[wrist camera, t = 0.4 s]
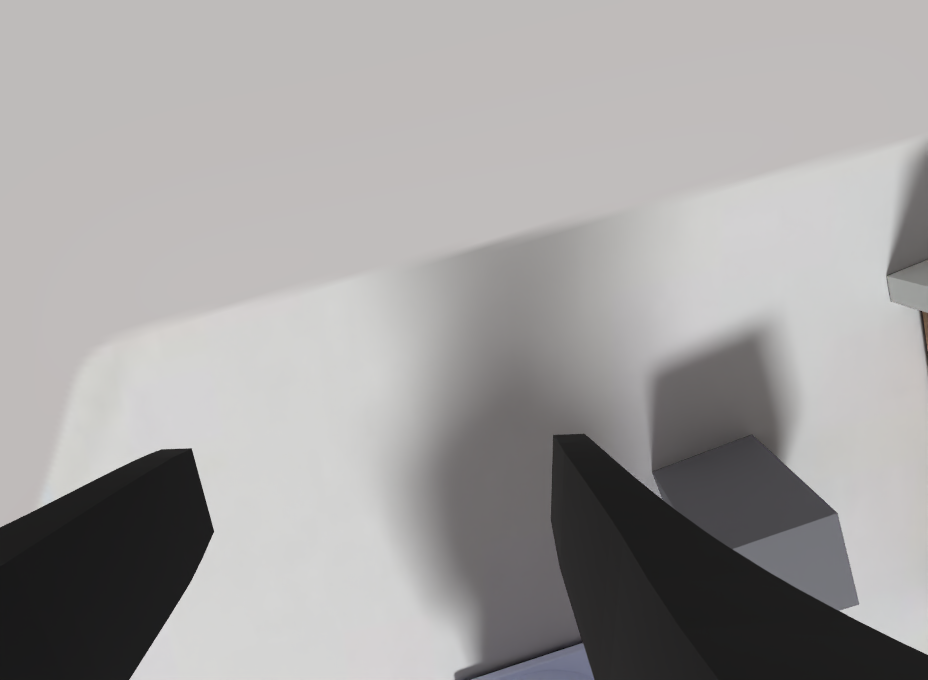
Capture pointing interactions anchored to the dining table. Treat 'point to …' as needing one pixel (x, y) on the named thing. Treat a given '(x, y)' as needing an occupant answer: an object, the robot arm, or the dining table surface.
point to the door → (926, 325)
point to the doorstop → (764, 516)
